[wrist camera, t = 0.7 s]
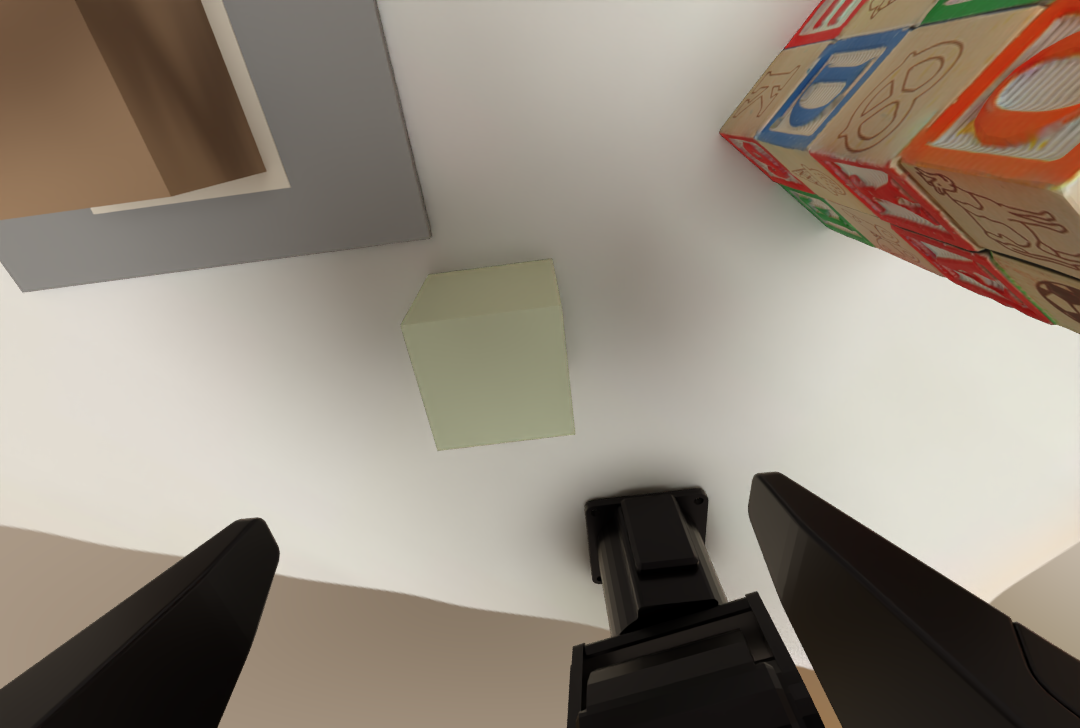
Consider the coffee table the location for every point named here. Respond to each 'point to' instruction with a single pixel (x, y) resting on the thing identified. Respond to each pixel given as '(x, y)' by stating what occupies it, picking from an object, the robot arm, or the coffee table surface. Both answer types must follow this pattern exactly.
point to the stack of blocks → (935, 138)
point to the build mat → (286, 150)
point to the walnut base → (114, 105)
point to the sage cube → (491, 355)
